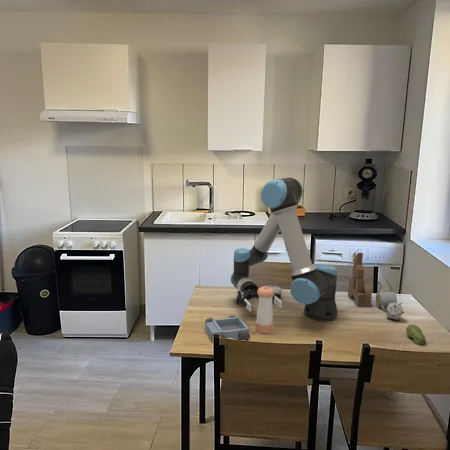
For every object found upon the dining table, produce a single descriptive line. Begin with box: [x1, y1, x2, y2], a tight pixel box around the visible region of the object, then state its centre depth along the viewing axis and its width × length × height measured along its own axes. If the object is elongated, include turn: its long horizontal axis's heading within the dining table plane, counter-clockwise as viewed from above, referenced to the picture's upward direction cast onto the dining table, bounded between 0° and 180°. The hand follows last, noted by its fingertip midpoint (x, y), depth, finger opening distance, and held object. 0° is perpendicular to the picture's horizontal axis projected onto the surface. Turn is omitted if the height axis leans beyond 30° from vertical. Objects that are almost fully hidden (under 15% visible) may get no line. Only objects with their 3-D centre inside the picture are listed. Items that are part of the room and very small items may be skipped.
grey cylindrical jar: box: [375, 291, 398, 313], centre depth 205 cm, size 11×8×8 cm
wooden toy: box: [347, 252, 373, 308], centre depth 212 cm, size 16×7×25 cm, turn 4°
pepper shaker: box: [254, 285, 274, 334], centre depth 178 cm, size 7×7×19 cm
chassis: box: [204, 315, 251, 343], centre depth 175 cm, size 15×16×4 cm
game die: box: [385, 300, 406, 322], centre depth 193 cm, size 9×8×10 cm
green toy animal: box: [405, 324, 427, 345], centre depth 175 cm, size 6×5×10 cm
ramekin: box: [259, 284, 283, 303], centre depth 214 cm, size 11×11×5 cm
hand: (265, 306), depth 177 cm, fingers open, 13 cm apart
